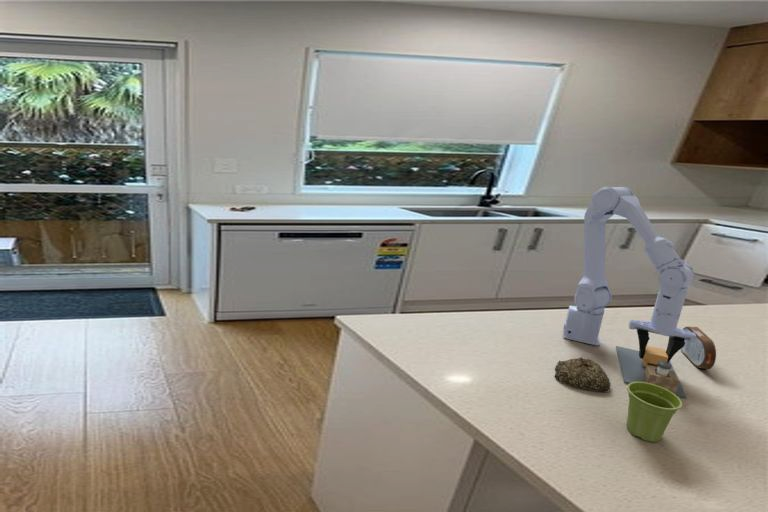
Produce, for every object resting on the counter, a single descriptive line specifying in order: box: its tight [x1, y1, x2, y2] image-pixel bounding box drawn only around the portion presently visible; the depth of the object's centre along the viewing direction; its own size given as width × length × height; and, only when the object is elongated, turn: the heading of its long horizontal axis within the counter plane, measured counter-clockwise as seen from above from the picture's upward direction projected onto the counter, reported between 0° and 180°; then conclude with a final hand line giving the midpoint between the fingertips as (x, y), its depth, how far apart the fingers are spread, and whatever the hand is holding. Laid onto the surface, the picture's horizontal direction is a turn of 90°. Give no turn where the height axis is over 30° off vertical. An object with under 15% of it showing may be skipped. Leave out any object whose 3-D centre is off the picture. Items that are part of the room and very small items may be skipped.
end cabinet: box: [643, 365, 680, 394], centre depth 107 cm, size 6×5×4 cm
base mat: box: [615, 345, 688, 400], centre depth 115 cm, size 13×21×1 cm, turn 158°
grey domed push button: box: [656, 361, 673, 377], centre depth 106 cm, size 3×3×4 cm
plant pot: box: [626, 382, 683, 443], centre depth 89 cm, size 9×9×9 cm
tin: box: [680, 326, 717, 370], centre depth 122 cm, size 15×3×8 cm, turn 168°
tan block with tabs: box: [642, 345, 668, 367], centre depth 116 cm, size 5×5×4 cm
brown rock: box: [554, 356, 611, 393], centre depth 108 cm, size 13×12×5 cm
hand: (653, 359), depth 116 cm, fingers closed on tan block with tabs, 5 cm apart
